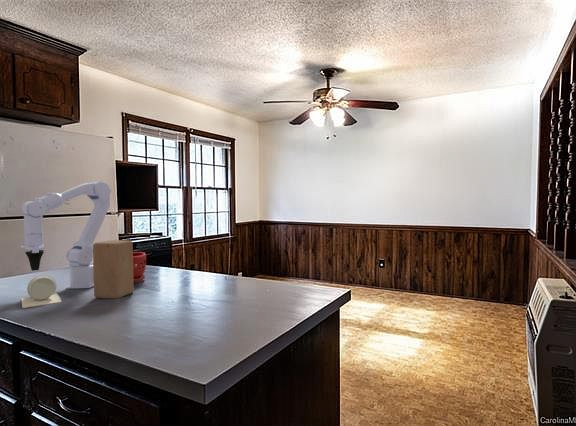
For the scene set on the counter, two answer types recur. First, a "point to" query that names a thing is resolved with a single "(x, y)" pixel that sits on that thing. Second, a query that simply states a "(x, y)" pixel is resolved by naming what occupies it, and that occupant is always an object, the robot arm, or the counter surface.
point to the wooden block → (113, 268)
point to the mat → (40, 301)
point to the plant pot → (138, 266)
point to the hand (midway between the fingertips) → (35, 270)
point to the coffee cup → (41, 287)
